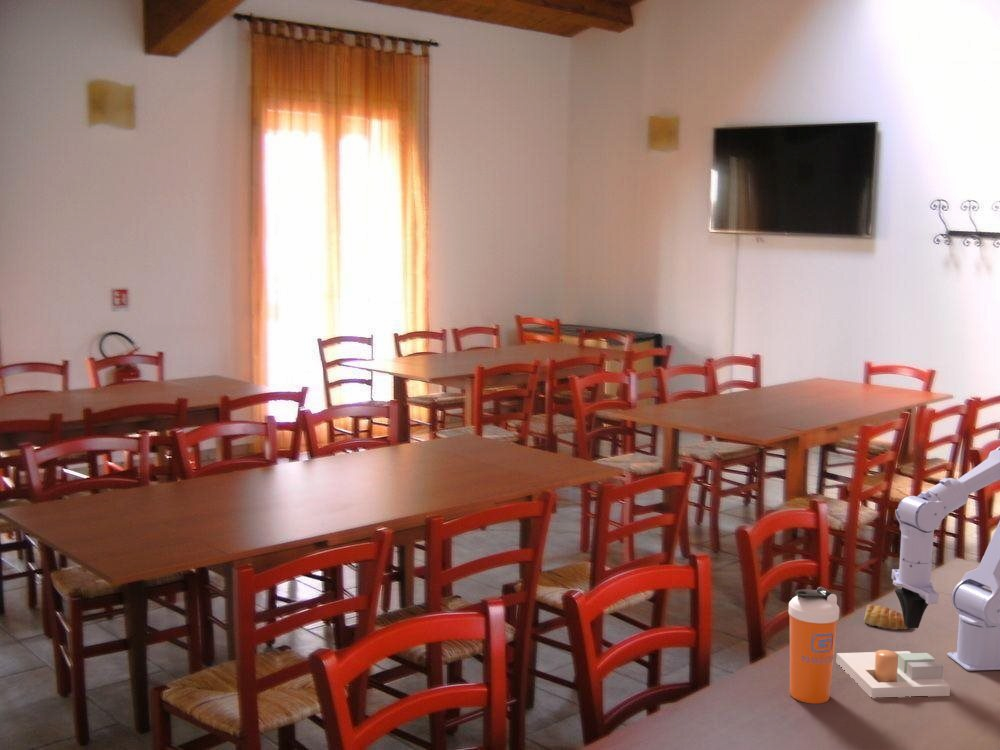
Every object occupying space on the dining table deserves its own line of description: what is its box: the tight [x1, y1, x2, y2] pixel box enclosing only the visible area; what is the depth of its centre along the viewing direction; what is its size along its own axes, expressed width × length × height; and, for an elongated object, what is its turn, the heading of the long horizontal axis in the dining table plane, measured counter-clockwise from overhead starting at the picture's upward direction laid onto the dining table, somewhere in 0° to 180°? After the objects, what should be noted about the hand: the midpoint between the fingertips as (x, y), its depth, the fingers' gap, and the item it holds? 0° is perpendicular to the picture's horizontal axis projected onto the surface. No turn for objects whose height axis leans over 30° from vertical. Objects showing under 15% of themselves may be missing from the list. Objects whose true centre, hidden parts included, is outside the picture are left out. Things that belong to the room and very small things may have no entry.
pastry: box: [863, 604, 908, 630], centre depth 226 cm, size 9×7×4 cm
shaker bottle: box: [787, 586, 840, 705], centre depth 190 cm, size 9×9×20 cm
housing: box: [835, 650, 951, 699], centre depth 198 cm, size 15×16×4 cm
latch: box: [898, 652, 936, 673], centre depth 198 cm, size 6×3×2 cm, turn 95°
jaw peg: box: [874, 649, 898, 683], centre depth 195 cm, size 4×4×6 cm
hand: (911, 627), depth 200 cm, fingers closed
